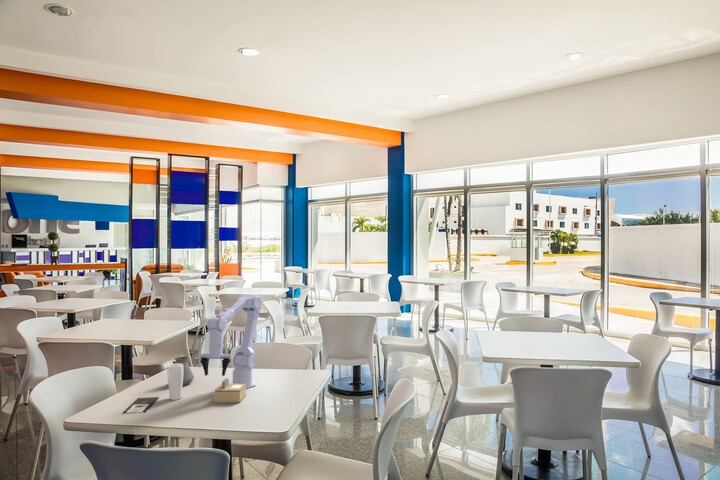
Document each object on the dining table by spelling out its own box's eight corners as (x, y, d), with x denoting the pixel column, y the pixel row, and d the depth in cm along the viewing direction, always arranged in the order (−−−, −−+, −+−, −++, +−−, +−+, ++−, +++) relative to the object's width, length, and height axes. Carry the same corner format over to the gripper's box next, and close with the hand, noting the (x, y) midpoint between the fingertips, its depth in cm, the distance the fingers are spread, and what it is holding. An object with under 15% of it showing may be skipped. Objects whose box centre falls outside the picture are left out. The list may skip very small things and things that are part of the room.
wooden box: (215, 402, 205) (214, 391, 205) (222, 396, 214) (222, 385, 214) (239, 402, 204) (239, 391, 204) (245, 396, 213) (245, 385, 213)
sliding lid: (214, 391, 205) (214, 383, 205) (221, 384, 214) (221, 377, 214) (240, 391, 204) (239, 383, 204) (246, 384, 214) (246, 377, 214)
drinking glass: (187, 397, 213) (186, 364, 213) (175, 401, 207) (175, 367, 207) (176, 395, 216) (175, 362, 216) (164, 399, 210) (163, 366, 210)
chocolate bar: (158, 397, 212) (145, 411, 194) (158, 399, 212) (145, 413, 194) (137, 398, 211) (122, 412, 193) (137, 400, 211) (122, 414, 193)
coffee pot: (173, 381, 239) (172, 351, 239) (196, 380, 240) (196, 350, 240) (159, 394, 217) (159, 362, 218) (185, 393, 219) (185, 361, 219)
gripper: (196, 345, 206) (195, 376, 205) (229, 346, 206) (228, 377, 205) (202, 343, 213) (201, 373, 212) (234, 343, 213) (233, 374, 212)
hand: (214, 375), depth 209 cm, fingers open, 7 cm apart
